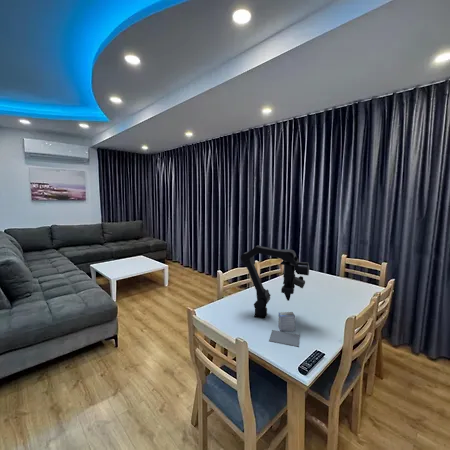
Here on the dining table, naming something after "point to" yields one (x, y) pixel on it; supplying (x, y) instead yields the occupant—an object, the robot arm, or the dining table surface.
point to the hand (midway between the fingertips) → (288, 299)
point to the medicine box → (286, 321)
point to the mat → (284, 338)
